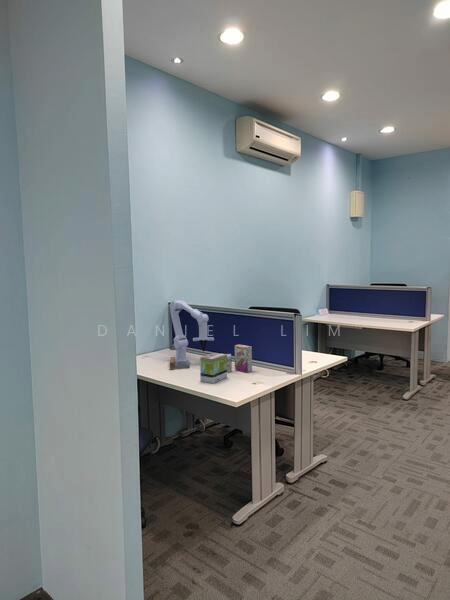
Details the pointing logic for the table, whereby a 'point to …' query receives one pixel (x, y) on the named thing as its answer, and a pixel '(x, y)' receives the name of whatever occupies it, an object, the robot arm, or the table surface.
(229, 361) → the light bulb box
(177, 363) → the steel slab
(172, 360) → the stop bar
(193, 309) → the robot arm
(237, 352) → the candy bar box
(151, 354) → the table surface
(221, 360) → the tea box
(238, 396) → the table surface
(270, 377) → the table surface
